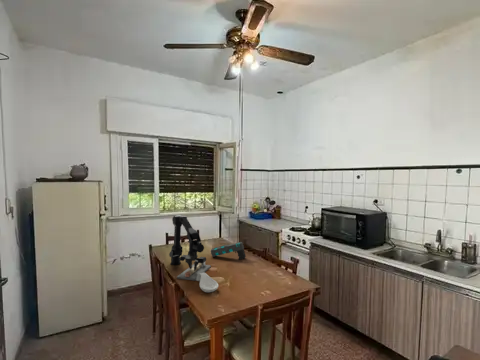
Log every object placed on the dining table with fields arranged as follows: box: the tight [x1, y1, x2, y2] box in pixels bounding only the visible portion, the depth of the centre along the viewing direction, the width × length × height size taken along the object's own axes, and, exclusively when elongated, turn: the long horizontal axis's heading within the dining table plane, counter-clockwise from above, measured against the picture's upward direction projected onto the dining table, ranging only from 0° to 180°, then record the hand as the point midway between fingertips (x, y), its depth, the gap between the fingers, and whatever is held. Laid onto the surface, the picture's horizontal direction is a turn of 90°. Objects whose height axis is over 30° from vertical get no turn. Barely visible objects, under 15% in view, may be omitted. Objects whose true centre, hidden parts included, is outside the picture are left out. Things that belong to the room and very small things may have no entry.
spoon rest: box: [195, 272, 219, 293], centre depth 169 cm, size 24×12×7 cm, turn 29°
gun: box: [210, 241, 247, 261], centre depth 228 cm, size 7×29×15 cm, turn 77°
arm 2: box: [187, 263, 202, 277], centre depth 191 cm, size 22×1×2 cm, turn 163°
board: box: [176, 263, 212, 281], centre depth 194 cm, size 14×28×1 cm, turn 164°
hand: (192, 270), depth 190 cm, fingers open, 3 cm apart
